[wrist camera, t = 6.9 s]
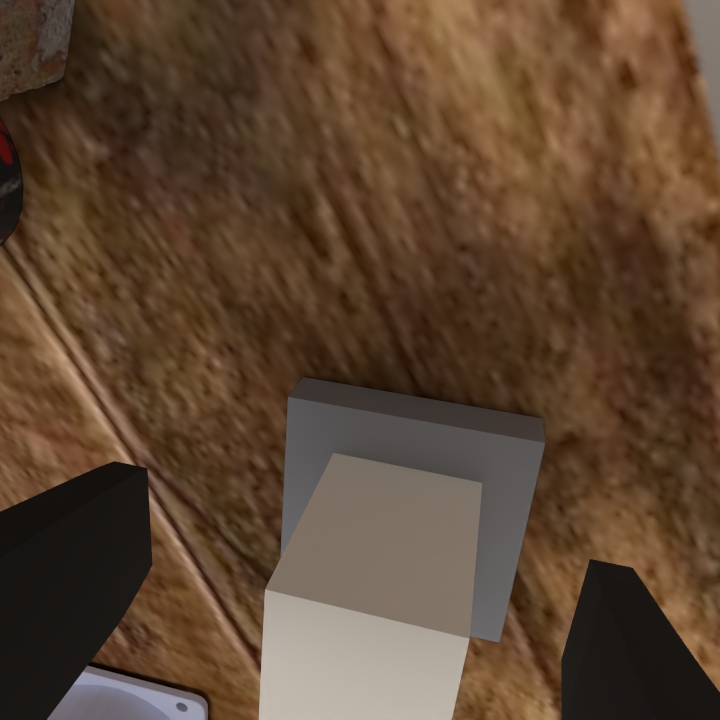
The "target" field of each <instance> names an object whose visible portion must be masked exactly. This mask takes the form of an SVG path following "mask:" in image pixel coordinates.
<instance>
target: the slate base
mask: <svg viewBox="0 0 720 720" xmlns="http://www.w3.org/2000/svg"><path fill="white" fill-rule="evenodd" d="M544 447H545V433H544V422H543V418H537V417H531V416H526V415H520V414H514V413H508V412H503V411H497V410H491V409H485V408H479V407H474V406H468V405H462V404H456V403H451V402H445V401H439V400H433V399H427V398H422V397H416V396H410V395H404V394H399V393H393V392H387V391H381V390H376V389H370V388H364V387H358V386H352V385H347V384H341V383H335V382H329V381H324V380H318V379H312V378H306V377H302V379H301V380H300V381H299V383H298V384H297V385H296V387H295V388H294V389H293V391H292V392H291V393H290V395H289V396H288V407H287V428H286V450H285V472H284V494H283V515H282V537H281V557H282V555H283V553H284V551H285V549H286V547H287V545H288V543H289V541H290V539H291V537H292V535H293V533H294V531H295V529H296V527H297V525H298V523H299V521H300V519H301V517H302V515H303V513H304V511H305V509H306V507H307V505H308V503H309V501H310V499H311V497H312V495H313V493H314V491H315V489H316V487H317V485H318V483H319V481H320V479H321V477H322V475H323V473H324V471H325V469H326V467H327V465H328V463H329V461H330V459H331V457H332V455H333V453H337V454H342V455H347V456H352V457H357V458H362V459H367V460H372V461H377V462H382V463H387V464H392V465H397V466H402V467H407V468H412V469H417V470H422V471H427V472H432V473H437V474H441V475H446V476H451V477H456V478H461V479H466V480H471V481H476V482H481V483H482V493H481V505H480V517H479V529H478V541H477V554H476V566H475V578H474V590H473V602H472V614H471V627H470V636H472V637H477V638H481V639H485V640H490V641H494V642H498V643H500V638H501V634H502V630H503V625H504V621H505V617H506V612H507V608H508V604H509V599H510V595H511V591H512V586H513V582H514V577H515V573H516V569H517V564H518V560H519V556H520V551H521V547H522V543H523V538H524V534H525V530H526V525H527V521H528V516H529V512H530V508H531V503H532V499H533V495H534V490H535V486H536V482H537V477H538V473H539V468H540V464H541V460H542V455H543V451H544Z"/></svg>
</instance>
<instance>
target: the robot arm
mask: <svg viewBox="0 0 720 720" xmlns="http://www.w3.org/2000/svg"><path fill="white" fill-rule="evenodd" d="M151 566H152V549H151V530H150V511H149V493H148V474H147V468H144V467H139V466H134V465H130V464H125V463H120V462H115V461H114V462H111V463H109V464H106V465H103V466H101V467H98V468H96V469H94V470H91V471H89V472H87V473H84V474H82V475H80V476H78V477H75V478H73V479H71V480H69V481H67V482H64V483H62V484H60V485H58V486H56V487H54V488H51V489H49V490H47V491H45V492H43V493H41V494H38V495H36V496H34V497H32V498H30V499H27V500H25V501H23V502H21V503H19V504H16V505H14V506H12V507H10V508H8V509H5V510H3V511H1V512H0V720H208V705H207V702H206V701H205V699H204V698H203V697H201V696H199V695H197V694H193V693H189V692H185V691H182V690H178V689H174V688H170V687H166V686H163V685H159V684H155V683H151V682H147V681H144V680H140V679H136V678H132V677H129V676H125V675H121V674H117V673H113V672H110V671H106V670H102V669H98V668H94V667H91V666H88V664H89V663H90V662H91V660H92V659H93V658H94V656H95V655H96V654H97V652H98V651H99V649H100V648H101V647H102V645H103V644H104V643H105V641H106V640H107V639H108V637H109V636H110V635H111V633H112V632H113V630H114V629H115V628H116V626H117V625H118V624H119V622H120V621H121V619H122V618H123V616H124V614H125V613H126V611H127V609H128V608H129V606H130V604H131V603H132V601H133V599H134V597H135V596H136V594H137V592H138V590H139V588H140V587H141V585H142V583H143V581H144V579H145V577H146V576H147V574H148V572H149V570H150V568H151ZM561 663H562V720H720V692H719V691H718V690H717V688H716V687H715V685H714V684H713V683H712V681H711V680H710V679H709V677H708V676H707V675H706V673H705V672H704V670H703V669H702V668H701V666H700V665H699V664H698V662H697V661H696V659H695V658H694V657H693V655H692V654H691V652H690V651H689V649H688V648H687V647H686V645H685V644H684V642H683V641H682V639H681V638H680V637H679V635H678V634H677V632H676V631H675V629H674V628H673V626H672V625H671V623H670V622H669V621H668V619H667V618H666V616H665V615H664V613H663V612H662V610H661V609H660V607H659V606H658V604H657V603H656V601H655V600H654V598H653V597H652V595H651V594H650V592H649V591H648V589H647V588H646V586H645V585H644V583H643V582H642V581H641V579H640V578H639V576H638V575H637V573H636V572H635V571H634V569H633V568H631V567H626V566H621V565H616V564H611V563H606V562H601V561H597V560H592V559H590V561H589V565H588V568H587V572H586V575H585V579H584V582H583V586H582V589H581V593H580V596H579V600H578V604H577V607H576V611H575V614H574V618H573V621H572V625H571V628H570V632H569V635H568V639H567V642H566V646H565V649H564V653H563V656H562V660H561Z"/></svg>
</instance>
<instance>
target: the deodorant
mask: <svg viewBox="0 0 720 720" xmlns="http://www.w3.org/2000/svg"><path fill="white" fill-rule="evenodd" d="M22 193H23V183H22V176H21V170H20V163H19V159H18V156H17V154H16V151H15V148H14V145H13V143H12V140H11V137H10V135H9V133H8V131H7V130H6V128H5V126H4V125H3V123H2V122H1V120H0V246H1V245H2V244H3V243H4V242H5V241H6V239H7V238H8V237H9V236H10V234H11V233H12V232H13V231H14V228H15V225H16V223H17V220H18V217H19V215H20V212H21V206H22Z"/></svg>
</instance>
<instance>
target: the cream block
mask: <svg viewBox="0 0 720 720" xmlns="http://www.w3.org/2000/svg"><path fill="white" fill-rule="evenodd" d="M481 493H482V483H481V482H476V481H471V480H466V479H461V478H456V477H451V476H446V475H441V474H437V473H432V472H427V471H422V470H417V469H412V468H407V467H402V466H397V465H392V464H387V463H382V462H377V461H372V460H367V459H362V458H357V457H352V456H347V455H342V454H337V453H333V455H332V457H331V459H330V461H329V463H328V465H327V467H326V469H325V471H324V473H323V475H322V477H321V479H320V481H319V483H318V485H317V487H316V489H315V491H314V493H313V495H312V497H311V499H310V501H309V503H308V505H307V507H306V509H305V511H304V513H303V515H302V517H301V519H300V521H299V523H298V525H297V527H296V529H295V531H294V533H293V535H292V537H291V539H290V541H289V543H288V545H287V547H286V549H285V551H284V553H283V555H282V557H281V559H280V561H279V563H278V565H277V567H276V569H275V571H274V573H273V575H272V577H271V579H270V581H269V583H268V585H267V587H266V589H265V602H264V623H263V643H262V663H261V684H260V704H259V720H452V716H453V711H454V707H455V702H456V698H457V693H458V689H459V684H460V680H461V675H462V671H463V666H464V661H465V657H466V652H467V648H468V643H469V639H470V627H471V614H472V602H473V590H474V578H475V566H476V554H477V541H478V529H479V517H480V505H481Z"/></svg>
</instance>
